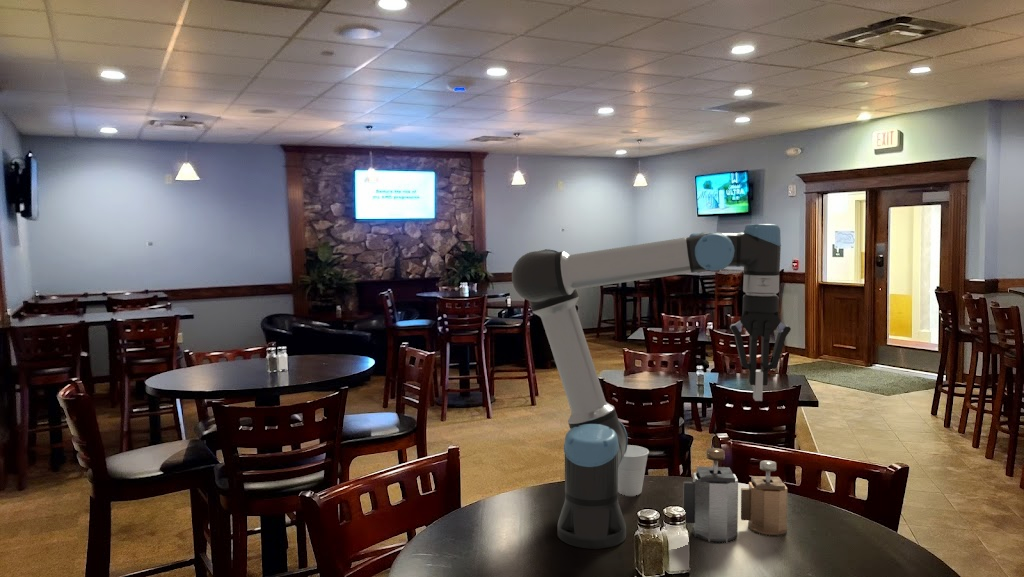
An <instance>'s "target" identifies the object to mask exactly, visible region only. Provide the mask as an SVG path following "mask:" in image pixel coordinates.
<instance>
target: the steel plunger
mask: <svg viewBox="0 0 1024 577" xmlns="http://www.w3.org/2000/svg"><path fill="white" fill-rule="evenodd" d="M725 455H726V454H725V450H724V449H722V448H718V447H711V448H707V449H706V459H707V460H709V461H710V460H711V461H712V467H713V474H718V467H719V461H720V462H721V461H724V460H725V458H726V457H725ZM713 483H718V482H713Z"/></svg>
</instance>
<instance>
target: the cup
mask: <svg viewBox="0 0 1024 577" xmlns="http://www.w3.org/2000/svg"><path fill="white" fill-rule="evenodd" d="M649 454H650V450H649V449H648V448H646V447H643V446H639V445H633V444H632V445H631V444H628V445H627V450H626V453H625V454H624V457H623V458H622V461H621V463H620V465H619V467H618V494H619V495H621V494H622V495H621V496H624V495H625V497H636V495H637V496H639V495H640V494H642V491H643V486H644V485H643V484H644V479H645V473H646V467H647V461H648V456H649Z"/></svg>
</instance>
